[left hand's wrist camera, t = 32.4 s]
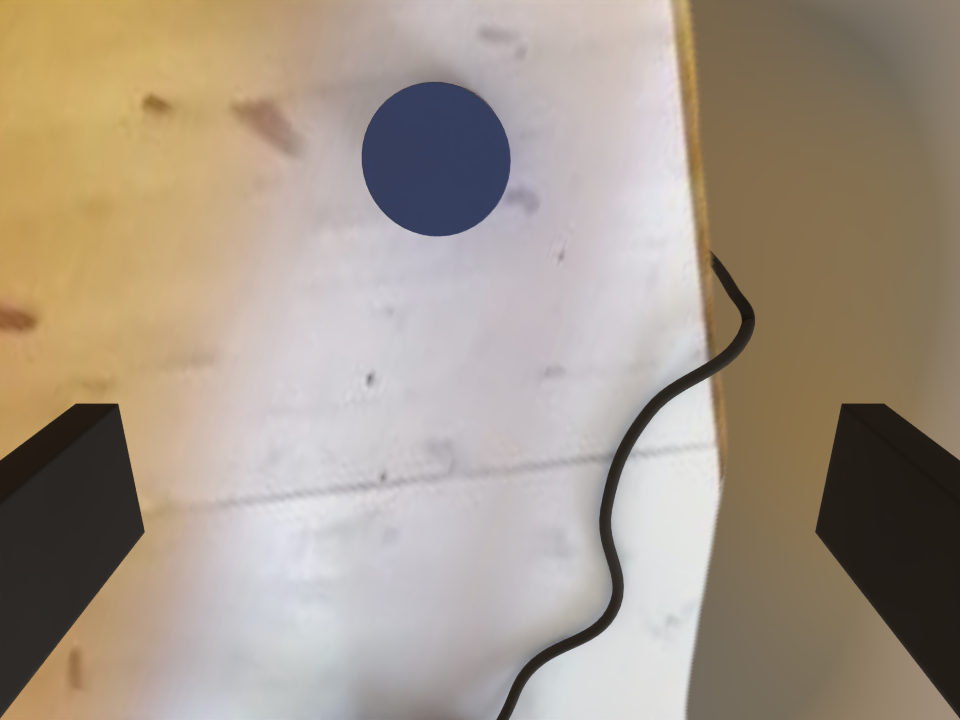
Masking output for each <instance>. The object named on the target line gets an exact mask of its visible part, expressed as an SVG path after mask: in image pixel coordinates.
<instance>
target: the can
mask: <svg viewBox="0 0 960 720" xmlns="http://www.w3.org/2000/svg"><path fill="white" fill-rule="evenodd" d="M510 161H511V160H510V149H509V144H508V139H507V136H506V133H505V130H504V128H503V126H502V124H501V122H500V120H499V119H498V117H497V116H496V114H495V113H494V111H493V110H492V108H491V107H490V106H489V105H488V104H487V102H486V101H484V100H483V99H482V98H481V97H480V96H478V95H477V94H475V93H474V92H472V91H470V90H468V89H465V88H462V87H459V86H456V85H453V84H448V83H443V82H427V83H420V84H416V85H412V86H410V87H407V88H405V89H403V90H401V91H399V92H397V93H396V94H394V95H393V96H392V97H390V98H389V99H388V100H386V101H385V102H384V104H383V105H382V106H381V107H380V108H379V109H378V110H377V112H376V113H375V115H374V116H373V118H372V120H371V122H370V123H369V125H368V128H367V131H366V133H365V137H364V141H363V147H362V168H363V174H364V178H365V181H366V185H367V187H368V189H369V192H370V194H371V196H372V197H373V199H374V201H375V202H376V204H377V205H378V206H379V208H380V209H381V210H382V211H383V212H384V213H385V214H386V215H387V216H388V217H389V218H390V219H391V220H393V221H394V222H395V223H397V224H398V225H400V226H401V227H403V228H405V229H407V230H410V231H412V232H415V233H418V234H422V235H427V236H449V235H454V234H458V233H461V232H463V231H466V230H468V229H470V228H472V227H474V226H476V225H477V224H478V223H480V222H481V221H483V220H484V219H485V218H486V217H487V216H488V215H489V214H490V213H491V212H492V211H493V209H494V208H495V207H496V206H497V204H498V203H499V201H500V199H501V198H502V195H503V193H504V191H505V189H506V186H507V182H508V179H509V173H510Z"/></svg>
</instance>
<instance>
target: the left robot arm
mask: <svg viewBox="0 0 960 720" xmlns="http://www.w3.org/2000/svg"><path fill="white" fill-rule="evenodd" d="M709 252H710V263H711V265H710V267H711V268H712V269H713V271H714V272H715V274H716V275H717V277H718V278H719V280H720V282H721V284H722V285H723V287H724V289H725V291H726V292H727V294H728V296H729V297H730V299H731V300H732V301H733V302H734V304H735V305H736V307H737V308H738V310H739V312H740V314H741V318H742V324H741V327H740V330H739V332H738V334H737V336H736V337H735V339H734V340H733V342H732V343H731V344H730V345H729V346H728V347H727V348H726V349H725V350H724V351H723V352H722V353H721V354H719V355H718V356H717V357H715V358H714V359H712V360H711V361H709V362H708V363H706V364H704V365H703V366H701V367H699V368H697V369H696V370H694V371H692V372H690V373H688V374H687V375H685V376H683V377H681V378H680V379H678V380H676V381H675V382H673V383H672V384H670V385H668V386H667V387H666V388H664V389H663V390H662V391H660V392H659V393H658V394H657V395H656V396H655V397H654V398H652V399H651V401H650V402H649V403H648V404H647V405H646V406H645V407H644V409H643V410H642V411H641V413H640V414H639V415H638V417H637V418H636V419H635V421H634V422H633V424H632V425H631V427H630V428H629V430H628V431H627V433H626V435H625V436H624V438H623V440H622V442H621V444H620V446H619V448H618V450H617V452H616V454H615V457H614V459H613V462H612V464H611V467H610V471H609V474H608V477H607V481H606V485H605V489H604V494H603V498H602V504H601V509H600V518H599V524H600V535H601V541H602V545H603V549H604V552H605V556H606V559H607V562H608V565H609V569H610V572H611V577H612V585H613V591H612V597H611V601H610V603H609V605H608V608H607V609H606V611H605V612H604V614H603V615H602V617H601V618H600V619H599V620H598V621H597V622H596V623H594V624H593V625H592V626H590V627H589V628H587V629H586V630H584V631H582V632H580V633H578V634H576V635H574V636H572V637H570V638H568V639H565V640H563V641H561V642H559V643H557V644H555V645H553V646H551V647H549V648H547V649H545V650H544V651H542V652H541V653H539V654H538V655H537V656H535V657H534V658H533V659H531V660H530V661H529V662H528V663H527V664H526V665H525V667H524V668H523V669H522V670H521V672H520V673H519V674H518V676H517V678H516V679H515V681H514V683H513V685H512V687H511V690H510V692H509V695H508V697H507V699H506V702H505V704H504V706H503V708H502V710H501V712H500V714H499V716H498V718H497V720H509V718H510V716H511V714H512V712H513V710H514V708H515V705H516V703H517V701H518V698H519V696H520V694H521V691H522V689H523V687H524V686H525V684H526V682H527V681H528V679H529V678H530V677H531V676H532V674H533V673H534V672H535V671H536V670H537V669H538V668H540V667H541V666H542V665H543V664H545V663H546V662H548V661H549V660H551V659H553V658H554V657H556V656H558V655H560V654H562V653H564V652H567V651H569V650H571V649H573V648H575V647H578V646H580V645H582V644H584V643H586V642H588V641H590V640H592V639H593V638H595V637H596V636H598V635H599V634H600V633H602V632H603V631H604V630H605V629H606V628H607V627H608V626H609V625H610V624H611V623H612V621H613V620H614V618H615V617H616V615H617V613H618V611H619V609H620V607H621V603H622V599H623V590H624V583H623V575H622V570H621V566H620V563H619V559H618V556H617V553H616V549H615V546H614V542H613V537H612V531H611V514H612V507H613V502H614V498H615V493H616V489H617V485H618V482H619V478H620V475H621V472H622V469H623V467H624V464H625V462H626V460H627V457H628V455H629V453H630V451H631V449H632V447H633V446H634V444H635V442H636V441H637V439H638V437H639V436H640V434H641V433H642V431H643V430H644V428H645V427H646V426H647V424H648V423H649V422H650V420H651V419H652V418H653V416H654V415H655V414H656V413H657V412H658V411H659V410H660V408H662V407H663V406H664V405H665V404H666V403H667V402H668V401H670V400H671V399H672V398H674V397H675V396H677V395H678V394H680V393H681V392H683V391H685V390H686V389H688V388H690V387H692V386H694V385H695V384H697V383H699V382H701V381H703V380H704V379H706V378H708V377H710V376H712V375H713V374H715V373H716V372H718V371H720V370H721V369H723V368H724V367H725V366H727V365H728V364H729V363H731V362H732V361H733V360H734V359H735V358H736V357H737V356H738V355H739V354H740V353H741V352H742V351H743V349H744V348H745V346H746V345H747V343H748V342H749V340H750V338H751V336H752V333H753V330H754V326H755V314H754V310H753V308H752V306H751V305H750V303H749V302H748V300H747V299H746V298H745V297H744V295H743V294H742V293H741V291H740V290H739V288H738V287H737V285H736V283H735V282H734V280H733V278H732V277H731V275H730V274H729V272H728V271H727V270H726V268H725V267H724V266H723V264H722V263H721V261H720V260H719V259H718V258H717V257H716V256H715V255H714V253H713V252H712V251H711V250H710V251H709ZM144 532H145V531H144V526H143V521H142V516H141V512H140V507H139V502H138V497H137V492H136V487H135V483H134V478H133V473H132V468H131V463H130V458H129V454H128V449H127V444H126V439H125V434H124V429H123V425H122V420H121V415H120V410H119V405H118V404H75V405H73V406H72V407H71V408H69V409H68V410H67V411H65V412H64V413H63V414H62V415H60V416H59V417H58V418H56V419H55V420H54V421H52V422H51V423H50V424H48V425H47V426H46V427H44V428H43V429H42V430H40V431H39V432H38V433H36V434H35V435H34V436H32V437H31V438H30V439H28V440H27V441H26V442H24V443H23V444H22V445H20V446H19V447H18V448H16V449H15V450H14V451H12V452H11V453H10V454H8V455H7V456H6V457H4V458H3V459H2V460H0V718H1V717H2V715H3V714H4V713H5V712H6V710H7V709H8V708H9V706H10V705H11V704H12V702H13V701H14V700H15V699H16V697H17V696H18V695H19V693H20V692H21V691H22V690H23V688H24V687H25V686H26V684H27V683H28V682H29V681H30V679H31V678H32V677H33V675H34V674H35V673H36V672H37V670H38V669H39V668H40V666H41V665H42V664H43V663H44V661H45V660H46V659H47V657H48V656H49V655H50V654H51V652H52V651H53V650H54V648H55V647H56V646H57V644H58V643H59V642H60V641H61V639H62V638H63V637H64V635H65V634H66V633H67V632H68V630H69V629H70V628H71V626H72V625H73V624H74V623H75V621H76V620H77V619H78V617H79V616H80V615H81V614H82V612H83V611H84V610H85V608H86V607H87V606H88V605H89V603H90V602H91V601H92V599H93V598H94V597H95V596H96V594H97V593H98V592H99V590H100V589H101V588H102V587H103V585H104V584H105V583H106V581H107V580H108V579H109V577H110V576H111V575H112V574H113V572H114V571H115V570H116V568H117V567H118V566H119V565H120V563H121V562H122V561H123V559H124V558H125V557H126V556H127V554H128V553H129V552H130V550H131V549H132V548H133V547H134V545H135V544H136V543H137V541H138V540H139V539H140V538H141V536H142V535H143V534H144ZM815 532H816V534H817V535H818V536H819V538H820V539H821V540H822V541H823V543H824V544H825V545H826V547H827V548H828V549H829V550H830V552H831V553H832V554H833V556H834V557H835V558H836V559H837V561H838V562H839V563H840V565H841V566H842V567H843V568H844V570H845V571H846V572H847V574H848V575H849V576H850V577H851V579H852V580H853V581H854V583H855V584H856V585H857V587H858V588H859V589H860V590H861V592H862V593H863V594H864V596H865V597H866V598H867V599H868V601H869V602H870V603H871V604H872V606H873V607H874V608H875V610H876V611H877V612H878V614H879V615H880V616H881V617H882V619H883V620H884V621H885V623H886V624H887V625H888V626H889V628H890V629H891V630H892V632H893V633H894V634H895V635H896V637H897V638H898V639H899V641H900V642H901V643H902V644H903V646H904V647H905V648H906V650H907V651H908V652H909V653H910V655H911V656H912V657H913V659H914V660H915V661H916V663H917V664H918V665H919V666H920V668H921V669H922V670H923V672H924V673H925V674H926V675H927V677H928V678H929V679H930V681H931V682H932V683H933V684H934V686H935V687H936V688H937V690H938V691H939V692H940V693H941V695H942V696H943V697H944V699H945V700H946V701H947V702H948V704H949V705H950V706H951V708H952V709H953V710H954V711H955V713H956V714H957V715H958V717H959V718H960V460H958V459H957V458H956V457H954V456H953V455H952V454H950V453H949V452H948V451H946V450H945V449H944V448H942V447H941V446H940V445H938V444H937V443H936V442H934V441H933V440H932V439H930V438H929V437H928V436H926V435H925V434H924V433H922V432H921V431H920V430H918V429H917V428H916V427H914V426H913V425H912V424H910V423H909V422H908V421H906V420H905V419H904V418H902V417H901V416H900V415H898V414H897V413H896V412H895V411H893V410H892V409H891V408H889V407H888V406H887V405H885V404H842V405H841V410H840V415H839V420H838V425H837V429H836V434H835V439H834V444H833V449H832V454H831V458H830V463H829V468H828V473H827V478H826V483H825V487H824V492H823V497H822V502H821V507H820V512H819V517H818V521H817V526H816V531H815Z"/></svg>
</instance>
